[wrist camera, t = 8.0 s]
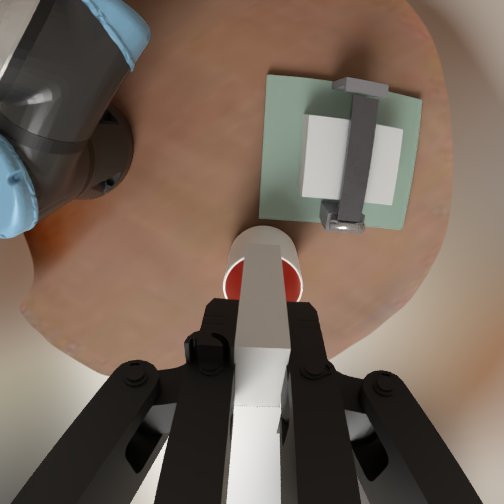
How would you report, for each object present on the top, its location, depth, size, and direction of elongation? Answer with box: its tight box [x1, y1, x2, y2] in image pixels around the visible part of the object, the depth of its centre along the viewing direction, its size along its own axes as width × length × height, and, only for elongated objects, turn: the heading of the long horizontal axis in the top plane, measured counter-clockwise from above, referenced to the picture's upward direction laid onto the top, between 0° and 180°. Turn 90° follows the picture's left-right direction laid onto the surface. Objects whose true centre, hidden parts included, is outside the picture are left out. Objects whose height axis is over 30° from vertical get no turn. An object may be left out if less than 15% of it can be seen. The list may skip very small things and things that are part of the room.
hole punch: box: [259, 75, 422, 233], centre depth 37 cm, size 22×20×9 cm
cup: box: [223, 226, 303, 302], centre depth 43 cm, size 10×10×10 cm
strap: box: [329, 95, 379, 232], centre depth 34 cm, size 4×17×1 cm, turn 177°
